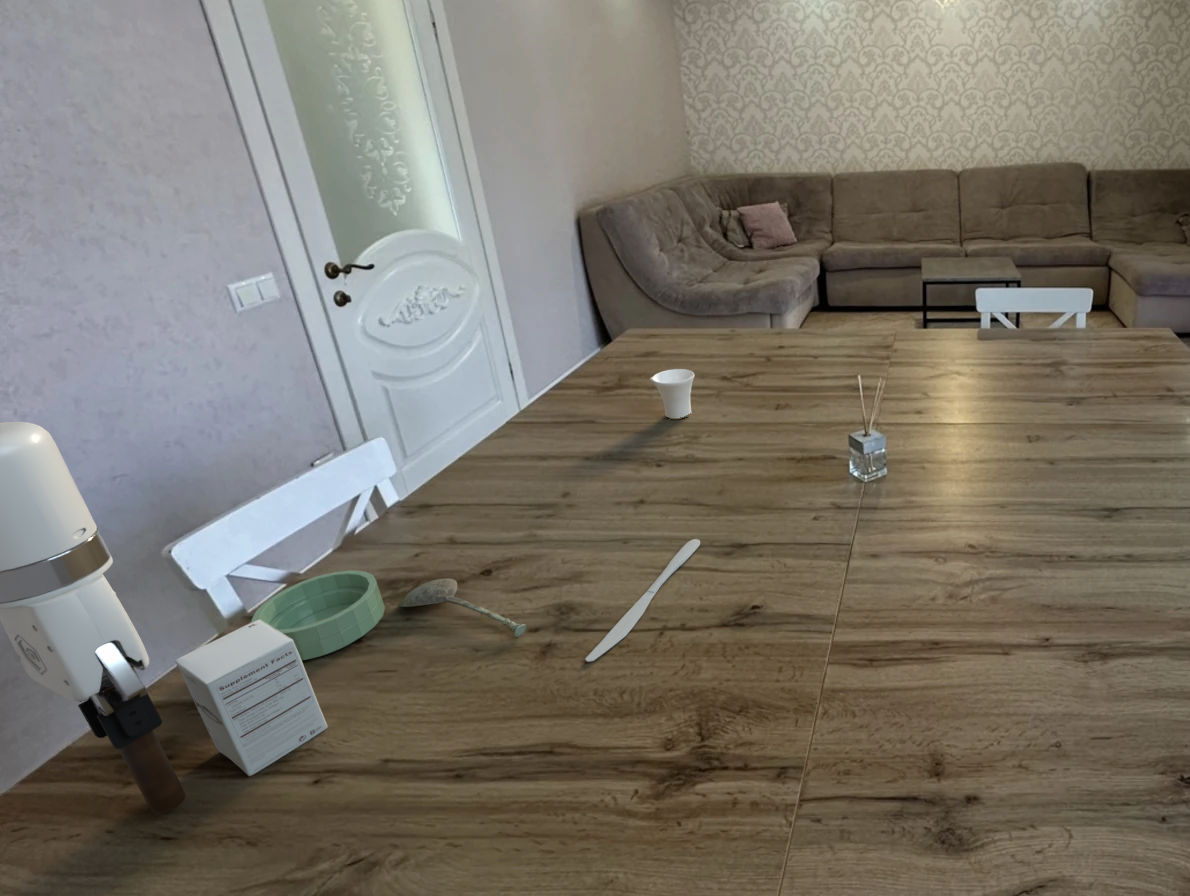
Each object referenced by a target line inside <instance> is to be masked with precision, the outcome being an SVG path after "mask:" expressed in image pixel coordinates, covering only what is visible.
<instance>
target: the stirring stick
mask: <svg viewBox="0 0 1190 896" xmlns="http://www.w3.org/2000/svg"><path fill="white" fill-rule="evenodd" d="M115 689H116V688H115V686H114V685H113V686H111V687H109V688H107V689H106V690H104V693H105V694H106V696H108V693H109V692H111V691H113V690H115ZM90 698H91V700H92V702H93V704H94V705H95V707H96V709H97V711H98V713H99V714H100V713H101V712H100V710H99V709H98V707H97V705H96V703H95V702H94V700H93V698H92V696H90ZM154 730H155V729H154ZM154 730H152V731H151V732H149V733H147V734H146V735H144V736H142V737H140V738H139V739H137V740H135V741H134V742H132V743H130V744H128V745H127V746H125V747H123V748H121V749H117V750H118V752H119V754H120V755H121V758H122V760H123V761H124V763H125V765H126V767H127V769H128V771H129V772H130V774H131V776H132V778H133V780H134V781H135V784H136V786H137V787H138V789H139V791H140V792H141V795H142V796H143V799H144V800H145V802H146V804H147V806H148V808H149V809H150V812H151V813H152V814H154V815H161V814H165V813H167V812H169V811H172V810H174V809H175V808H177V807H178V806H179V805H181V804H182V802H184V800H185V799H186V796H187V794H186V791H185V790H184V787H183V785H182V783H181V781H180V780H179V778H178V776H177V774H176V771H175V770H174V767H173V765H172V764H171V762H170V760H169V758H168V756H167V754H166V752H165V750H164V748H163V746H162V744H161V742H160V741H159V738H158V737H157V734H156V733H155V731H154Z"/></svg>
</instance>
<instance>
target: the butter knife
mask: <svg viewBox="0 0 1190 896" xmlns="http://www.w3.org/2000/svg"><path fill="white" fill-rule="evenodd" d="M700 545H701V540H700V539H698V538H694V539H691V540H689V541H687V542H686V543H685V544H684V545H683V546H682V547H681V548H680V550H678V552H676V554H675V555H674V557H672V559H671V560H670V561H669V563H668V564H667V565H666V567H665V568H664V569H663V570H662V572H661V573H660V575H659V576H658V577H657V578H656V579H655V581H654V582H653V583H652V585H651V586H650V587H649V588H648V589H647V590H646V591H645V593H644V594H643V595H641V597H640V598H639V599H638V600H637V601H636V602H635V603H634V604H633V605H632V606H631V608H629V610H627V612H626V613H625V614H624V615H623V616H622V617H621V618H620V620H619V621H618V622H617V623H616V624H615V625H614V626H613V628H612V629H610V630H609V632H608V633H607V634H606V635H605V636H604V638H603V639H602V640H601V641H600V642H599V643H598V644H597V646H595V648H593V650H592V651H591V652H590V653H589V654H588V655H587V656H586V657H585V661H586V662H587V663H590V662H594V661H596V660H597V659H598V658H600V657H601V656H602V655H603V654H605V653H606V652H608V650H610V649H611V648H613V647H614V646H615V645H617V644H618V643H619V642H620V641H621V640H622V639H624V638H625V637H626V636H627V635H628V634H629V633H630V631H632V629H633V628H634V626H635V625H636V624H637V623H638V621H639V620H640V618H641V617H642V616H643V615H644V613H645V612H646V610H647V608H648V607H649V604H650V603H651V601H652V599H653V598H654V596H655V595H656V594H657V593H658V591H659V590H660V588H661V587H662V585H663V584H664V583H665V582H666V581H667V580H668V579H669V577H671V575H673V573H674V572H675V571H677V569H679V568H680V567H681V566H682V565H683V564H684V563H685V562H686V561H687V560H688V559H689V558H690V557H691V556H692V555H693V554H694V552H696V550H697V549H698V548H699V547H700Z"/></svg>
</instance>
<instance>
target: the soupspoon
mask: <svg viewBox="0 0 1190 896" xmlns="http://www.w3.org/2000/svg"><path fill="white" fill-rule="evenodd" d="M457 591H458V581H456V579H453V578H437V579H434V580H429V581H427V582H425V583H423V584H420V585H418V586H417V587H415V588H414V589H412V590H411V591H410V592H408V593H407V594H406V595H405V596H404V598H403V599H402V600H401V601H400V603H399V607H401V608H411V607H419V606H427V605H434V604H439V603H440V604H441V603H451V604H454V605H457V606H461V607H464V608H466V609H469V610H472V611H474V612H477V613H480V614H482V615H485V616H487V617H489V618H492V619H494V620H496V621H498V622H500V623H502V625H503V626H506V627H507V628H508V629H510V630H511V632H512V633H513V636H514V638H519V637H521V636H523V634H524V633H525V631H526V630H527V627H528V626H527V624H525V623H523V624H520V623H516V622H515V621H512V620H511V619H510V618H505V617H504V616H502V615H500V614H498V613H496V612H494V611H491V610H489V609H486V608H484V607H481V606H479V605H477V604H474V603H471V602H469V601H467V600H464V599H461V598H458V597H455V594H456V593H457Z"/></svg>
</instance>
